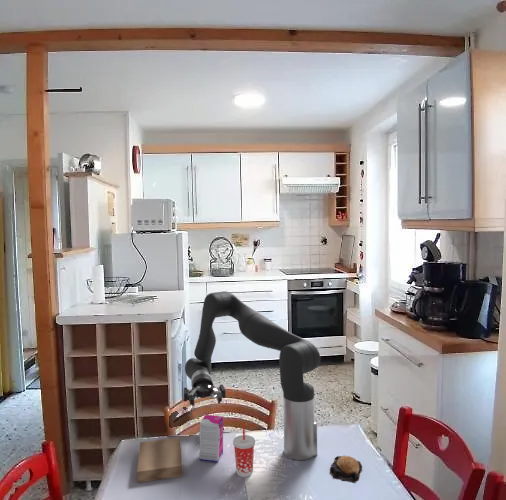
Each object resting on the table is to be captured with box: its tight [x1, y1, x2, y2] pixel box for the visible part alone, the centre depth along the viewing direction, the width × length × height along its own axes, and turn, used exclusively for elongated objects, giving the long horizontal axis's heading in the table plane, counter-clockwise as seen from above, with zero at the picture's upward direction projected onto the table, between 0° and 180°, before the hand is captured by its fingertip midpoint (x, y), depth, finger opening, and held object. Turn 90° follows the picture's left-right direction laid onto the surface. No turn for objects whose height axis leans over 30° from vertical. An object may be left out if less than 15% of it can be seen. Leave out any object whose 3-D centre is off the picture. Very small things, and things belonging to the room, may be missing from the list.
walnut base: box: [136, 437, 183, 483], centre depth 121 cm, size 12×16×3 cm
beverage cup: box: [232, 422, 256, 478], centre depth 115 cm, size 6×6×14 cm
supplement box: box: [199, 414, 224, 463], centre depth 124 cm, size 6×6×12 cm
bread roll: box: [329, 455, 363, 483], centre depth 116 cm, size 11×8×4 cm
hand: (206, 401), depth 135 cm, fingers open, 8 cm apart
